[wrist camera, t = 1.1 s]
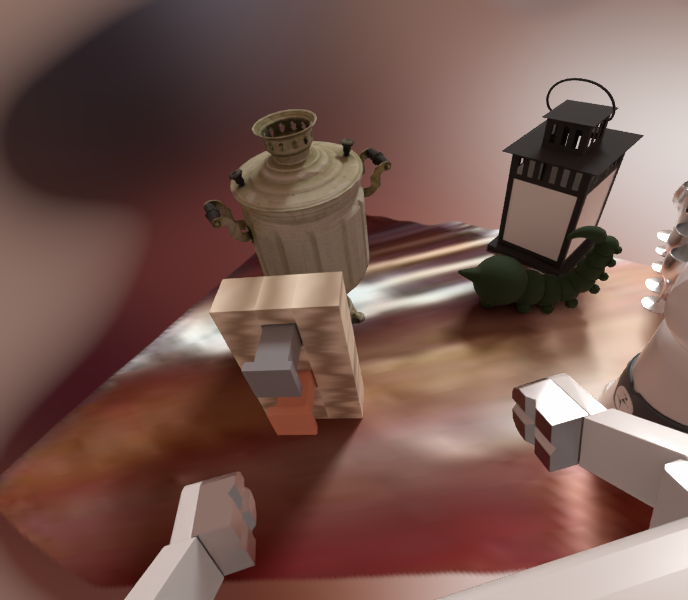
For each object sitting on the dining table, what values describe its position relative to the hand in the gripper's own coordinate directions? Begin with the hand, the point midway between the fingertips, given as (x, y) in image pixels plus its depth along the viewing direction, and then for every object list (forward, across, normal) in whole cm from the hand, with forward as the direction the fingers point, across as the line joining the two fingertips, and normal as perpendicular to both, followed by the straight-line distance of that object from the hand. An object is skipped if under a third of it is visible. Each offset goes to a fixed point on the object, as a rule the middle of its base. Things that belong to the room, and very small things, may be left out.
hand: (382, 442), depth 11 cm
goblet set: (+53, +67, -36) cm, 93 cm away
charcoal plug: (+34, -7, -20) cm, 40 cm away
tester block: (+44, -6, -37) cm, 58 cm away
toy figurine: (+53, +37, -35) cm, 74 cm away
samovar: (+66, 0, -31) cm, 73 cm away
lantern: (+68, +51, -31) cm, 90 cm away
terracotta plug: (+37, -8, -30) cm, 48 cm away
